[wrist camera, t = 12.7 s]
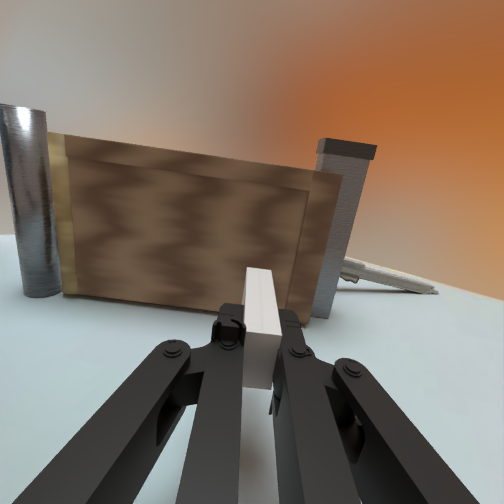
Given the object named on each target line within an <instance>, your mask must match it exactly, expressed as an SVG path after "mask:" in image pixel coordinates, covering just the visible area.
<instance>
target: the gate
mask: <svg viewBox="0 0 504 504" xmlns="http://www.w3.org/2000/svg"><path fill="white" fill-rule="evenodd" d="M47 140H48V151H49V161H50V171H51V181H52V191H53V202H54V212H55V222H56V232H57V242H58V252H59V263H60V273H61V283H62V292H63V293H65V294H82V295H90V296H98V297H106V298H114V299H122V300H130V301H138V302H147V303H155V304H163V305H171V306H179V307H187V308H195V309H203V310H211V311H219V309H220V307H221V306H222V305H223V304H224V303H232V304H240V305H242V299H243V292H244V285H245V278H246V271H247V267H250V268H258V269H266V270H271V272H272V278H273V284H274V290H275V296H276V302H277V308H279V309H287V310H293V311H294V312H295V314H296V315H297V316H298V318H299V322H300V323H304V324H308V322H309V318H310V313H311V309H312V305H313V301H314V296H315V292H316V288H317V284H318V280H319V275H320V271H321V267H322V263H323V258H324V254H325V250H326V246H327V242H328V237H329V233H330V229H331V225H332V220H333V216H334V212H335V208H336V204H337V199H338V195H339V191H340V187H341V182H342V178H343V175H341V174H336V173H329V172H323V171H316V170H309V169H301V168H295V167H288V166H280V165H274V164H267V163H260V162H253V161H246V160H239V159H233V158H226V157H218V156H212V155H205V154H198V153H191V152H184V151H177V150H170V149H163V148H155V147H149V146H142V145H136V144H129V143H122V142H115V141H107V140H101V139H93V138H87V137H80V136H73V135H66V134H59V133H51V132H47Z"/></svg>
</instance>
